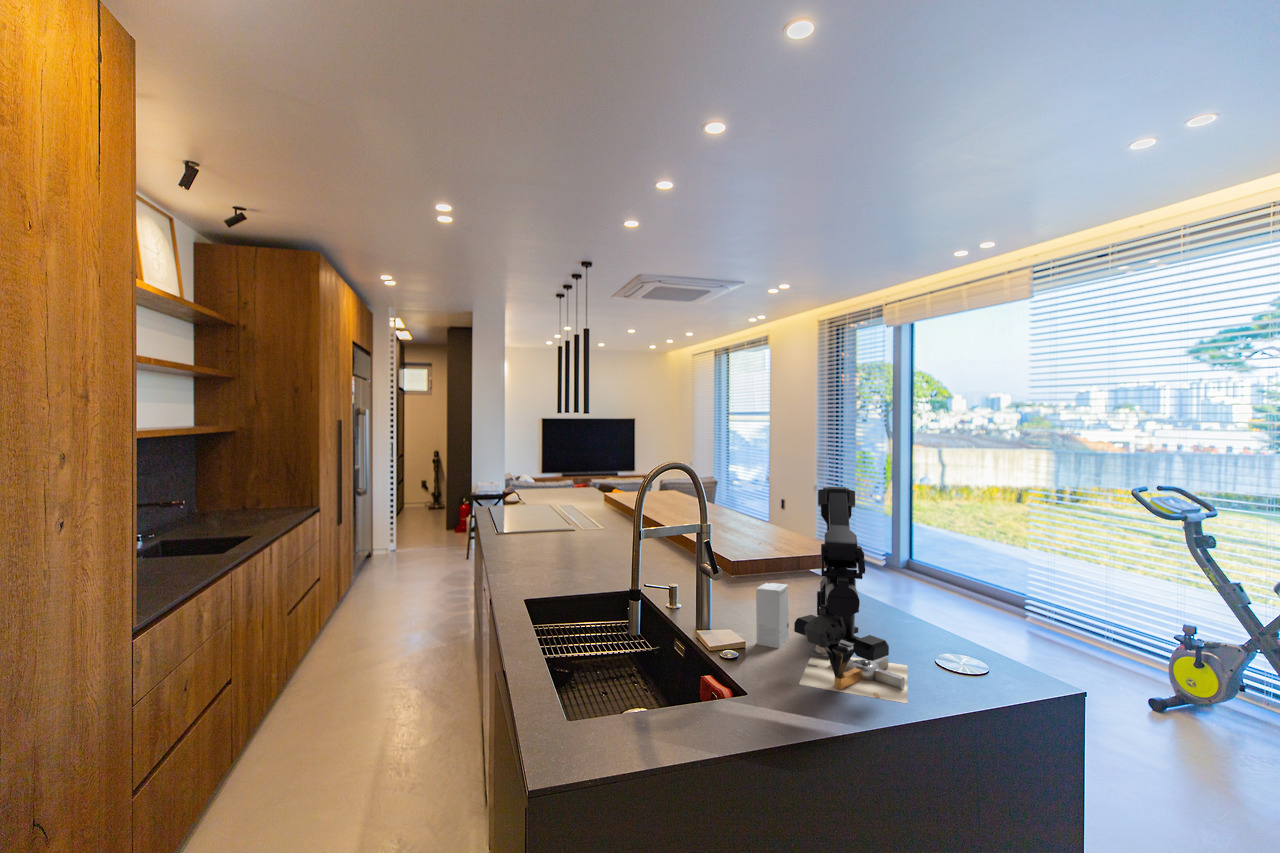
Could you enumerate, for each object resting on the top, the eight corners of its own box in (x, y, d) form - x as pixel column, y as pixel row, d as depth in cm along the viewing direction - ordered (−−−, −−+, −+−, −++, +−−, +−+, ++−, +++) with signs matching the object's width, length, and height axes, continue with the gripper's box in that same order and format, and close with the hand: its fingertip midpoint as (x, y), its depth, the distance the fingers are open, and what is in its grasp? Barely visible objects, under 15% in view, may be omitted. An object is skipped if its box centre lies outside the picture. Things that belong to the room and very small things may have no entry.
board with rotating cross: (813, 657, 139) (813, 639, 139) (907, 672, 130) (907, 653, 130) (798, 691, 120) (798, 670, 120) (907, 711, 112) (907, 688, 112)
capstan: (803, 676, 124) (803, 661, 124) (851, 655, 136) (851, 642, 136) (875, 703, 112) (875, 687, 112) (922, 678, 123) (922, 663, 123)
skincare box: (779, 654, 140) (780, 591, 140) (754, 650, 143) (755, 587, 143) (789, 643, 148) (789, 583, 148) (765, 639, 151) (766, 580, 151)
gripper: (777, 595, 123) (775, 670, 124) (856, 622, 108) (853, 707, 108) (812, 587, 130) (810, 659, 130) (891, 611, 115) (889, 692, 115)
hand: (837, 678), depth 121 cm, fingers closed
